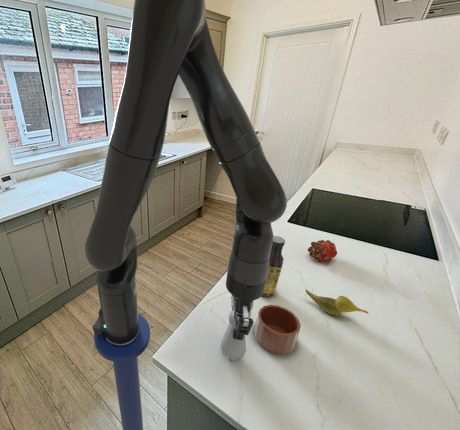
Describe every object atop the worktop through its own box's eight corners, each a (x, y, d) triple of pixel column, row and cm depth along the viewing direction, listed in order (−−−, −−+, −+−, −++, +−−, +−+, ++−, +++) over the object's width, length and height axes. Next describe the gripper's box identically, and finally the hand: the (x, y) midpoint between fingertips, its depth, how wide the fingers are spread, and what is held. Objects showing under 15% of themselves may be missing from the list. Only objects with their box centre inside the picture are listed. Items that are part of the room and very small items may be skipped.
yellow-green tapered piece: (361, 331, 70) (370, 313, 67) (300, 303, 79) (305, 287, 76) (363, 321, 73) (371, 303, 70) (304, 295, 82) (309, 279, 79)
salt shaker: (239, 368, 61) (247, 329, 55) (216, 355, 64) (221, 317, 58) (247, 350, 65) (256, 312, 59) (225, 338, 68) (231, 301, 63)
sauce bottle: (254, 295, 83) (264, 242, 74) (253, 283, 88) (262, 232, 79) (276, 300, 81) (289, 246, 72) (274, 286, 86) (286, 235, 78)
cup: (257, 351, 66) (262, 332, 63) (251, 321, 74) (255, 302, 71) (299, 357, 64) (306, 338, 61) (288, 325, 72) (293, 307, 69)
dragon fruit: (308, 267, 97) (321, 259, 104) (334, 264, 90) (346, 256, 97) (300, 245, 98) (313, 238, 105) (324, 241, 91) (337, 234, 98)
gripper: (225, 250, 60) (218, 304, 68) (231, 293, 48) (221, 354, 56) (259, 253, 59) (248, 308, 67) (274, 298, 47) (258, 360, 54)
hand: (236, 329), depth 61 cm, fingers closed on salt shaker, 4 cm apart
